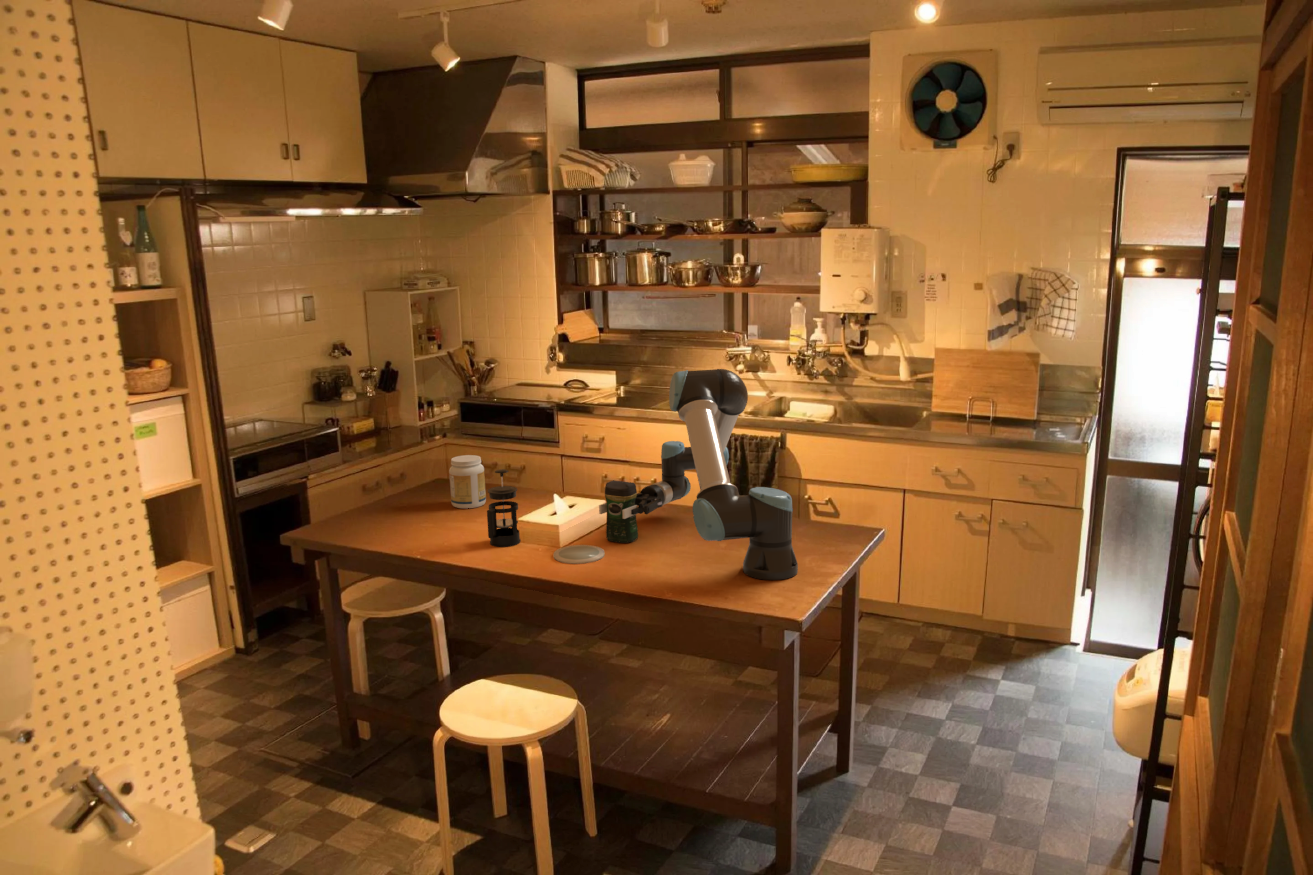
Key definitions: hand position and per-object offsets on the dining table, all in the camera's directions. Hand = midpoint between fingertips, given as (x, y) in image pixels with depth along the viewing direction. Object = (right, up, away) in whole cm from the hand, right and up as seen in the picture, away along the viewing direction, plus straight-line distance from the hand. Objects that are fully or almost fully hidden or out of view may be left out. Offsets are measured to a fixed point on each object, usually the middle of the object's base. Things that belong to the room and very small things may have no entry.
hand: (611, 512), depth 289 cm
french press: (-33, -10, +5) cm, 35 cm away
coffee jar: (+3, -9, +6) cm, 11 cm away
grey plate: (-9, -12, -8) cm, 17 cm away
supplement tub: (-53, -1, +48) cm, 71 cm away
